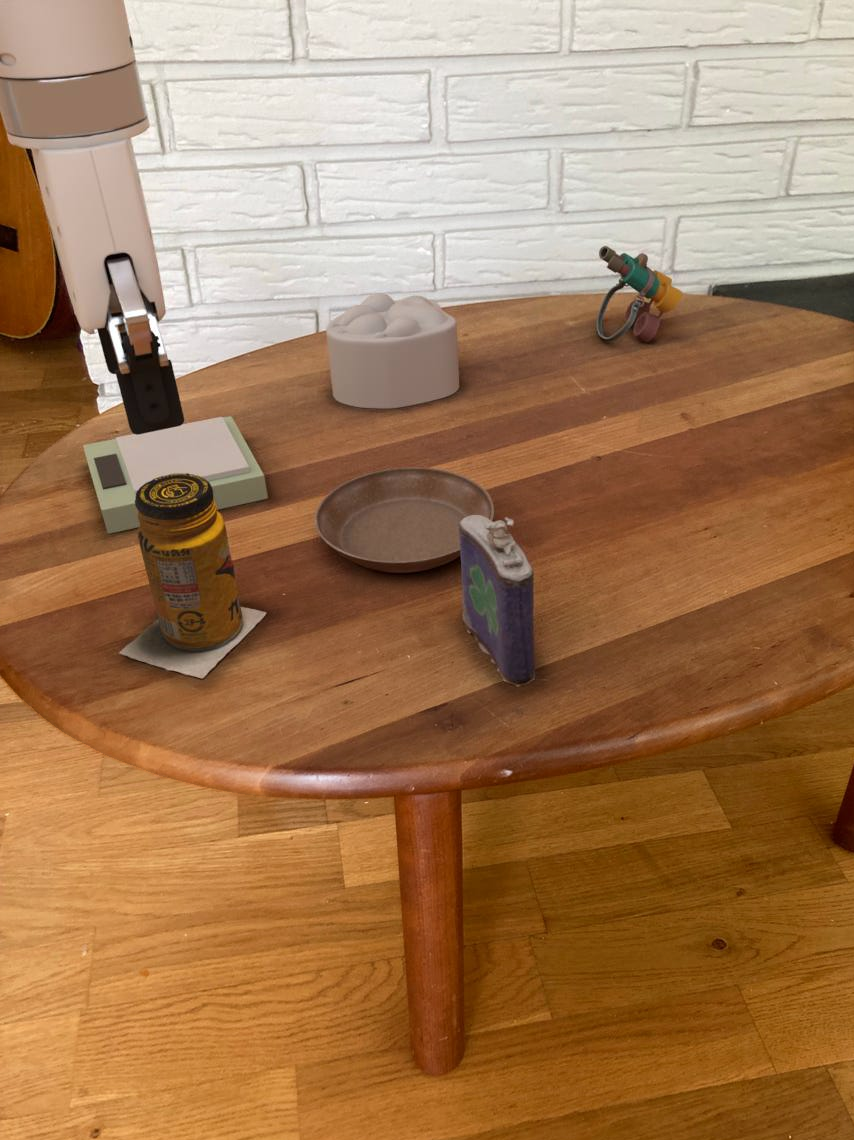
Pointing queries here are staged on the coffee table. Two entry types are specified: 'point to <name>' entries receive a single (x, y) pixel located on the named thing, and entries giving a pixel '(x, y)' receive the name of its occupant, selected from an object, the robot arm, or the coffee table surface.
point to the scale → (173, 466)
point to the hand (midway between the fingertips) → (145, 397)
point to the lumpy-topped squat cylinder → (393, 353)
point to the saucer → (400, 517)
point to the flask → (498, 596)
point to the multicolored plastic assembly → (646, 285)
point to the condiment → (187, 578)
